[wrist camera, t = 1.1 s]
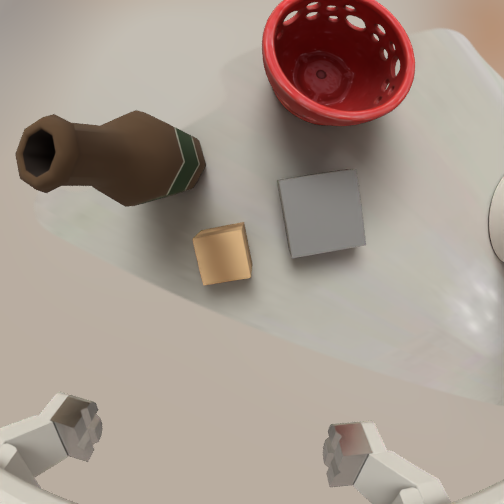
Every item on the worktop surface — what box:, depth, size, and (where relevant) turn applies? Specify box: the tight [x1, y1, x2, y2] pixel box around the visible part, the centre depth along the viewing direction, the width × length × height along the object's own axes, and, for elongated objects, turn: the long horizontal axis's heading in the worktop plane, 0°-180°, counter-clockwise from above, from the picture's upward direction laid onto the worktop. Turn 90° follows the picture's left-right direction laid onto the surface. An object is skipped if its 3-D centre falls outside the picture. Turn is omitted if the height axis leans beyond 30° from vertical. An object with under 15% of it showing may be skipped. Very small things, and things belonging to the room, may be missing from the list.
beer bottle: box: [16, 111, 206, 207], centre depth 23 cm, size 8×8×24 cm
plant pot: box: [262, 0, 415, 126], centre depth 26 cm, size 13×13×12 cm
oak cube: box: [192, 222, 252, 285], centre depth 34 cm, size 5×5×5 cm
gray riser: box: [277, 169, 366, 258], centre depth 33 cm, size 8×8×4 cm
